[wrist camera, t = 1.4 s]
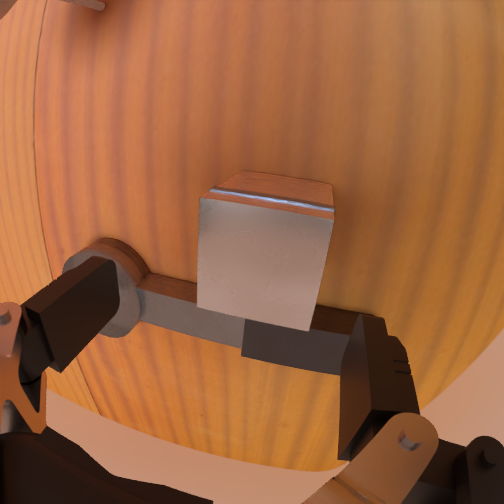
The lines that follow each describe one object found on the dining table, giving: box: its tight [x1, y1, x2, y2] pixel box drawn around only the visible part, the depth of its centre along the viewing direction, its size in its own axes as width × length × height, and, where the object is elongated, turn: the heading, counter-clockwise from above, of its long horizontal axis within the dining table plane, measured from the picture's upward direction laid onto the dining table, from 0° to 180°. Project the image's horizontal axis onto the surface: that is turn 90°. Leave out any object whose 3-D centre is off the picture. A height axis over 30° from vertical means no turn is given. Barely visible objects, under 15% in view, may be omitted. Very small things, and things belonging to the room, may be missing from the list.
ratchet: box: [62, 238, 374, 375], centre depth 19 cm, size 22×7×7 cm, turn 84°
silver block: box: [197, 170, 335, 331], centre depth 15 cm, size 5×5×6 cm
